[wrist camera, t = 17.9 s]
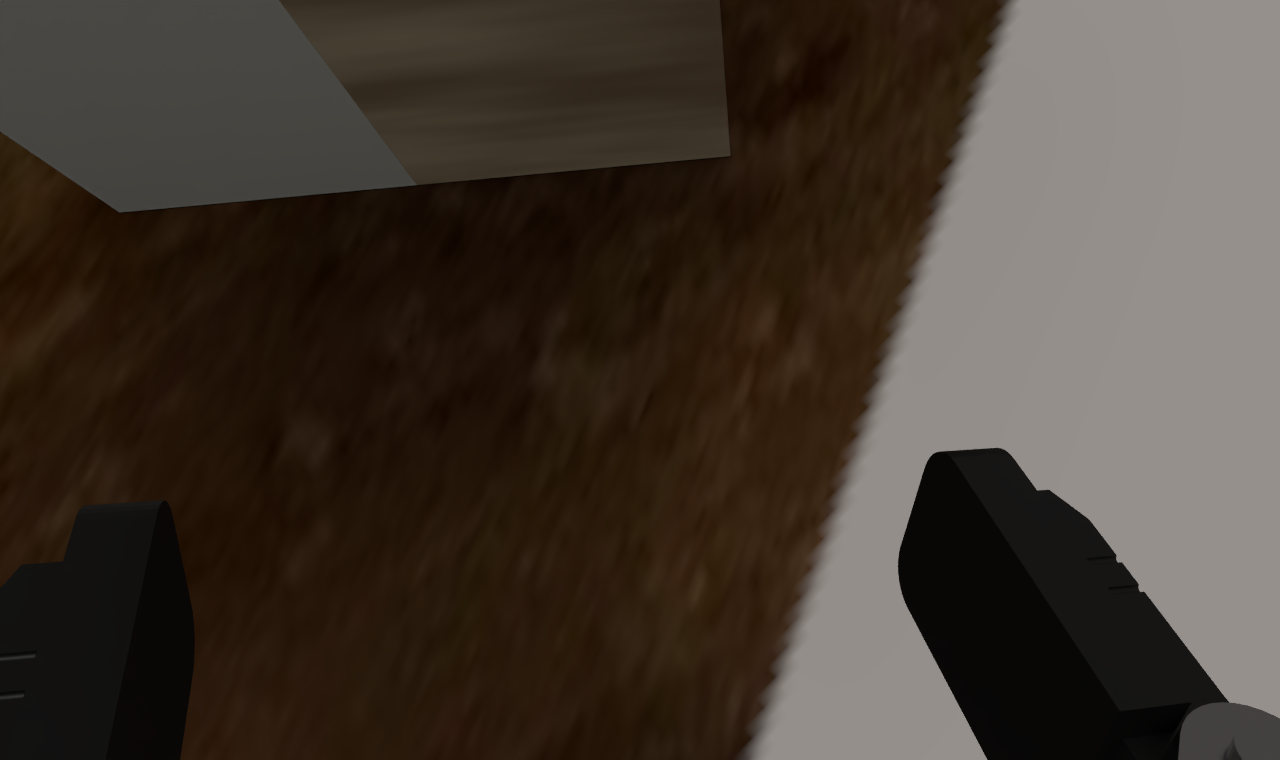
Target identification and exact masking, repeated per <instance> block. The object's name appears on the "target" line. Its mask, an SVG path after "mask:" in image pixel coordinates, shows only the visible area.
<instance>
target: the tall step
mask: <svg viewBox="0 0 1280 760" xmlns="http://www.w3.org/2000/svg"><path fill="white" fill-rule="evenodd" d="M0 132H2V133H3V134H5V135H6V136H8V137H9V138H11V139H12V140H13V141H15V142H16V143H18V144H19V145H21V146H22V147H24V148H25V149H27V150H28V151H30V152H31V153H33V154H34V155H36V156H37V157H38V158H40V159H41V160H43V161H44V162H46V163H47V164H49V165H50V166H52V167H53V168H55V169H56V170H58V171H59V172H61V173H62V174H64V175H65V176H66V177H68V178H69V179H71V180H72V181H74V182H75V183H77V184H78V185H80V186H81V187H83V188H84V189H86V190H87V191H89V192H90V193H92V194H93V195H94V196H96V197H97V198H99V199H100V200H102V201H103V202H105V203H106V204H108V205H109V206H111V207H112V208H114V209H115V210H117V211H118V212H119V213H120V212H131V211H142V210H153V209H164V208H175V207H185V206H196V205H207V204H218V203H229V202H239V201H250V200H261V199H272V198H283V197H294V196H304V195H315V194H326V193H337V192H348V191H359V190H369V189H380V188H391V187H402V186H413V185H417V184H416V183H415V182H414V180H413V179H412V178H411V176H410V175H409V174H408V172H407V171H406V170H405V168H404V167H403V166H402V164H401V163H400V162H399V160H398V159H397V158H396V156H395V155H394V154H393V152H392V151H391V149H390V148H389V147H388V145H387V144H386V143H385V141H384V140H383V139H382V137H381V136H380V135H379V133H378V132H377V131H376V129H375V128H374V127H373V125H372V124H371V123H370V121H369V120H368V119H367V117H366V116H365V115H364V113H363V112H362V111H361V109H360V108H359V107H358V105H357V104H356V103H355V101H354V100H353V99H352V97H351V96H350V95H349V93H348V92H347V91H346V89H345V88H344V87H343V85H342V84H341V83H340V81H339V80H338V79H337V77H336V76H335V75H334V73H333V72H332V71H331V69H330V68H329V66H328V65H327V64H326V62H325V61H324V60H323V58H322V57H321V56H320V54H319V53H318V52H317V50H316V49H315V48H314V46H313V45H312V44H311V42H310V41H309V40H308V38H307V37H306V36H305V34H304V33H303V32H302V30H301V29H300V28H299V26H298V25H297V24H296V22H295V21H294V20H293V18H292V17H291V16H290V14H289V13H288V12H287V10H286V9H285V8H284V6H283V5H282V4H281V2H280V1H279V0H0Z"/></svg>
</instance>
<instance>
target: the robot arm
mask: <svg viewBox="0 0 1280 760" xmlns="http://www.w3.org/2000/svg"><path fill="white" fill-rule="evenodd" d="M898 574H899V582H900V587H901V591H902V595H903V598H904V601H905V603H906V605H907V607H908V609H909V611H910V613H911V615H912V617H913V619H914V621H915V622H916V625H917V626H918V628H919V630H920V632H921V634H922V636H923V638H924V640H925V642H926V643H927V646H928V647H929V649H930V651H931V653H932V655H933V657H934V659H935V661H936V662H937V665H938V666H939V668H940V670H941V672H942V674H943V676H944V678H945V680H946V682H947V683H948V685H949V687H950V689H951V691H952V693H953V695H954V697H955V699H956V701H957V702H958V704H959V706H960V708H961V710H962V712H963V714H964V716H965V718H966V720H967V721H968V723H969V725H970V727H971V729H972V731H973V733H974V735H975V737H976V739H977V741H978V743H979V744H980V746H981V748H982V750H983V752H984V754H985V756H986V758H987V760H1280V719H1279V718H1277V717H1276V716H1274V715H1271V714H1269V713H1267V712H1264V711H1262V710H1259V709H1256V708H1253V707H1250V706H1246V705H1241V704H1236V703H1229V702H1228V701H1227V699H1226V698H1225V697H1224V696H1223V694H1222V693H1221V692H1220V690H1219V689H1218V688H1217V686H1216V685H1215V684H1214V682H1213V681H1212V680H1211V678H1210V677H1209V676H1208V675H1207V673H1206V672H1205V671H1204V669H1203V668H1202V667H1201V666H1200V664H1199V663H1198V661H1197V660H1196V659H1195V658H1194V656H1193V655H1192V654H1191V652H1190V651H1189V650H1188V649H1187V647H1186V646H1185V644H1184V643H1183V642H1182V641H1181V639H1180V638H1179V637H1178V635H1177V634H1176V633H1175V631H1174V630H1173V629H1172V627H1171V626H1170V625H1169V623H1168V622H1167V621H1166V620H1165V618H1164V617H1163V616H1162V614H1161V613H1160V612H1159V611H1158V609H1157V608H1156V606H1155V605H1154V604H1153V603H1152V601H1151V600H1150V599H1149V597H1148V596H1147V595H1146V593H1145V592H1140V591H1139V589H1138V583H1137V582H1136V580H1135V579H1134V578H1133V577H1132V575H1131V574H1130V572H1129V571H1128V570H1127V569H1126V567H1125V566H1124V565H1123V564H1122V562H1121V563H1118V562H1117V561H1116V554H1115V553H1114V551H1113V550H1112V549H1111V548H1110V546H1109V545H1108V544H1107V542H1106V541H1105V540H1104V538H1103V537H1102V536H1101V534H1100V533H1099V532H1098V530H1097V529H1096V528H1095V527H1094V525H1093V524H1092V523H1091V522H1090V520H1089V519H1088V518H1086V517H1085V516H1084V515H1082V514H1081V513H1080V512H1078V511H1077V510H1075V509H1074V508H1073V507H1071V506H1070V505H1069V504H1067V503H1066V502H1065V501H1063V500H1062V499H1061V498H1059V497H1058V496H1057V495H1055V494H1054V493H1052V492H1051V491H1050V490H1040V491H1037V490H1036V488H1035V487H1034V486H1033V484H1032V483H1031V482H1030V480H1029V479H1028V478H1027V476H1026V475H1025V473H1024V472H1023V471H1022V469H1021V468H1020V467H1019V465H1018V464H1017V462H1016V461H1015V460H1014V459H1013V457H1012V456H1011V455H1010V454H1009V453H1008V452H1007V451H1005V450H1003V449H1001V448H990V449H974V450H960V451H959V450H958V451H944V452H936V453H934V454H933V455H932V456H931V457H930V458H929V460H928V461H927V464H926V466H925V469H924V472H923V475H922V479H921V482H920V485H919V489H918V492H917V495H916V498H915V501H914V505H913V508H912V511H911V515H910V518H909V521H908V524H907V528H906V531H905V534H904V537H903V541H902V544H901V547H900V551H899V559H898ZM194 652H195V637H194V620H193V612H192V606H191V601H190V596H189V591H188V587H187V582H186V577H185V572H184V568H183V563H182V558H181V553H180V549H179V544H178V539H177V534H176V529H175V525H174V520H173V516H172V512H171V509H170V506H169V504H168V503H167V501H164V500H163V501H148V502H132V503H117V504H102V505H87V506H83V507H82V508H81V509H80V510H79V512H78V514H77V517H76V520H75V523H74V527H73V530H72V533H71V537H70V540H69V544H68V547H67V550H66V554H65V557H64V561H63V562H53V563H40V564H27V565H21V566H20V567H19V568H18V570H17V571H16V572H15V573H14V574H13V575H12V576H11V577H10V578H9V579H8V581H7V582H6V583H5V584H4V585H3V586H2V587H1V588H0V760H180V757H181V750H182V743H183V736H184V730H185V723H186V716H187V709H188V703H189V696H190V689H191V683H192V676H193V668H194Z"/></svg>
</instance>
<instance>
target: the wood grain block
mask: <svg viewBox="0 0 1280 760" xmlns="http://www.w3.org/2000/svg"><path fill="white" fill-rule="evenodd" d="M279 1H280V2H281V4H282V5H283V6H284V8H285V9H286V10H287V12H288V13H289V14H290V16H291V17H292V18H293V20H294V21H295V22H296V24H297V25H298V26H299V28H300V29H301V30H302V32H303V33H304V34H305V36H306V37H307V38H308V40H309V41H310V42H311V44H312V45H313V46H314V48H315V49H316V50H317V52H318V53H319V54H320V56H321V57H322V58H323V60H324V61H325V62H326V64H327V65H328V66H329V68H330V69H331V71H332V72H333V73H334V75H335V76H336V77H337V79H338V80H339V81H340V83H341V84H342V85H343V87H344V88H345V89H346V91H347V92H348V93H349V95H350V96H351V97H352V99H353V100H354V101H355V103H356V104H357V105H358V107H359V108H360V109H361V111H362V112H363V113H364V115H365V116H366V117H367V119H368V120H369V121H370V123H371V124H372V125H373V127H374V128H375V129H376V131H377V132H378V133H379V135H380V136H381V137H382V139H383V140H384V141H385V143H386V144H387V145H388V147H389V148H390V149H391V151H392V152H393V154H394V155H395V156H396V158H397V159H398V160H399V162H400V163H401V164H402V166H403V167H404V168H405V170H406V171H407V172H408V174H409V175H410V176H411V178H412V179H413V180H414V182H415V183H416V184H417V185H422V184H433V183H444V182H455V181H466V180H477V179H487V178H498V177H509V176H520V175H531V174H542V173H552V172H563V171H574V170H585V169H596V168H606V167H617V166H628V165H639V164H650V163H661V162H671V161H682V160H693V159H704V158H715V157H726V156H730V142H729V128H728V114H727V99H726V85H725V71H724V56H723V42H722V28H721V13H720V0H279Z"/></svg>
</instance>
